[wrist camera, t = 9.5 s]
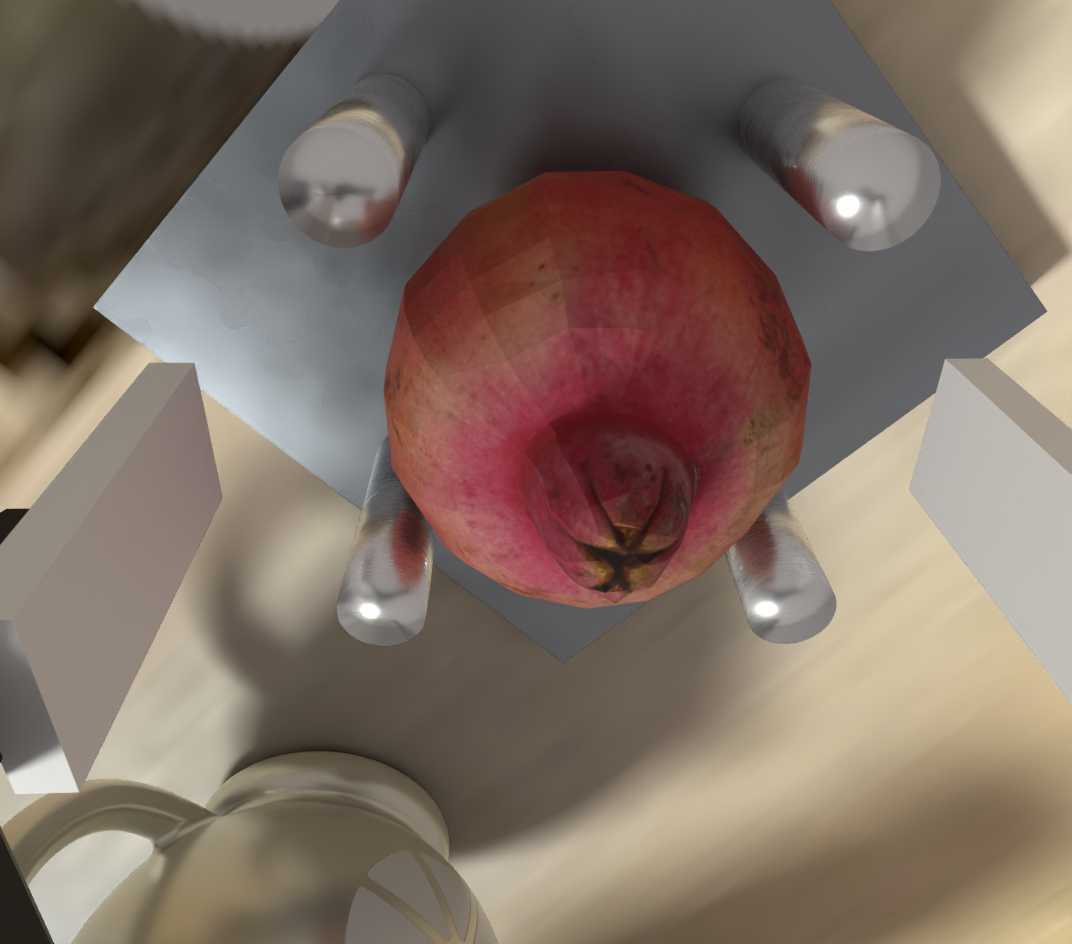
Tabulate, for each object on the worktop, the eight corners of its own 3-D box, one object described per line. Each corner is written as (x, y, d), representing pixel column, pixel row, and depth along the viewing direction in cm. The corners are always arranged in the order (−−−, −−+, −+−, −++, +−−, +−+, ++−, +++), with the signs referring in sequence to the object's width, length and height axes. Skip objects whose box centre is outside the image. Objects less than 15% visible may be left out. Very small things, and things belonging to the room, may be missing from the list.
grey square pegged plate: (113, 289, 21) (-48, 430, 15) (596, -309, 16) (649, -469, 10) (561, 636, 28) (575, 835, 21) (1022, 293, 22) (1219, 431, 16)
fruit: (332, 274, 20) (200, 522, 12) (627, 47, 18) (733, 146, 9) (537, 508, 24) (551, 831, 15) (805, 344, 21) (1002, 615, 13)
